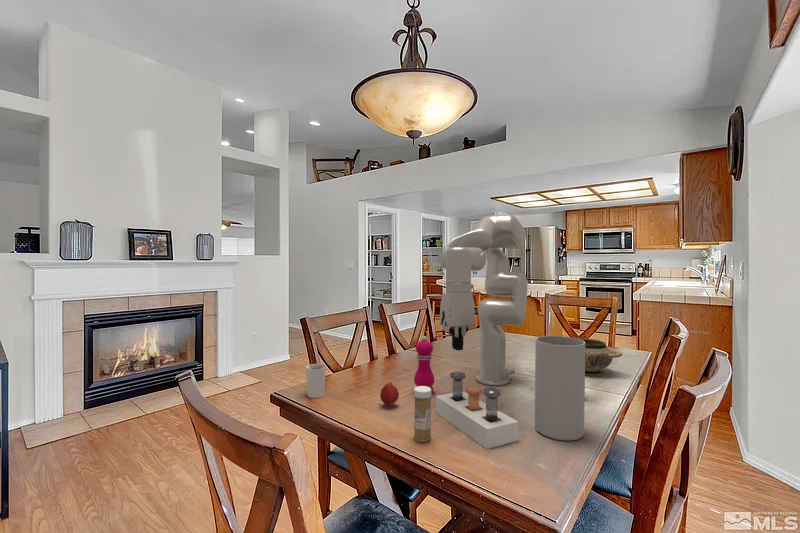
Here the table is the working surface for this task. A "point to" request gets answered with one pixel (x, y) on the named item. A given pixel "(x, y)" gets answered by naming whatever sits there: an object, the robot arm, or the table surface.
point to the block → (477, 421)
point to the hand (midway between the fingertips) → (457, 349)
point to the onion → (389, 394)
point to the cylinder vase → (560, 387)
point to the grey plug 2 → (491, 404)
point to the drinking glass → (315, 380)
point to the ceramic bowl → (597, 356)
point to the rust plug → (473, 397)
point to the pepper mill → (424, 364)
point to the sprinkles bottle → (422, 414)
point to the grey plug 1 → (457, 385)
